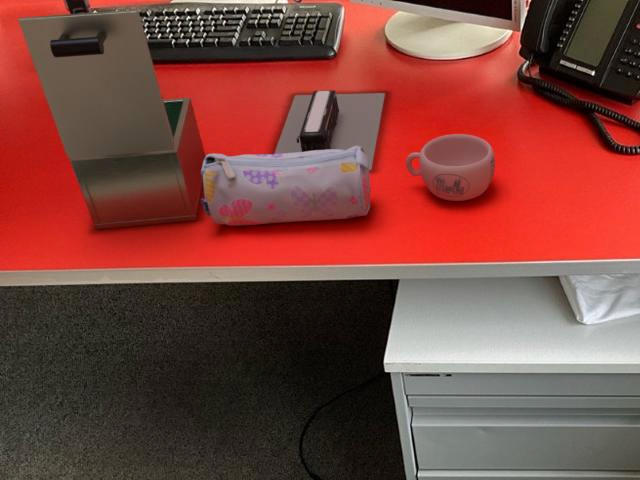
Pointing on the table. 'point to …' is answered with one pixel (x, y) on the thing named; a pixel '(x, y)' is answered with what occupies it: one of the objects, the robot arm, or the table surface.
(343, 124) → the flat grey base plate
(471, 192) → the mug
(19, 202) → the table surface
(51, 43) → the freezer lid
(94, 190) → the box
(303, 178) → the pencil case
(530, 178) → the table surface
